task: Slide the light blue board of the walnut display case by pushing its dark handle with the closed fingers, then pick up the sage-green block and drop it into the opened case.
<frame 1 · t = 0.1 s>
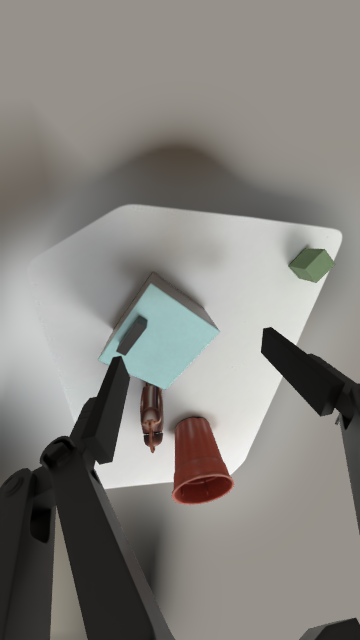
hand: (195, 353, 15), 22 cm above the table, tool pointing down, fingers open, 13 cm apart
light blue board: (159, 349, 27), point 12 cm above the table, slide at 0.0 cm
block: (301, 264, 35), on the table
alarm clock: (153, 388, 46), on the table
case: (159, 319, 37), on the table
flower pot: (191, 427, 56), on the table
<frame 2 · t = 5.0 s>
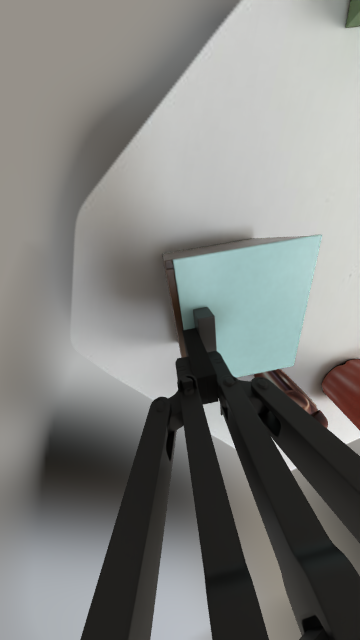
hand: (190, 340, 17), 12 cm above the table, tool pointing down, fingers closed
light blue board: (250, 328, 17), point 12 cm above the table, slide at 0.8 cm, touching gripper
alarm clock: (263, 367, 37), on the table
case: (211, 296, 28), on the table
flower pot: (342, 376, 42), on the table
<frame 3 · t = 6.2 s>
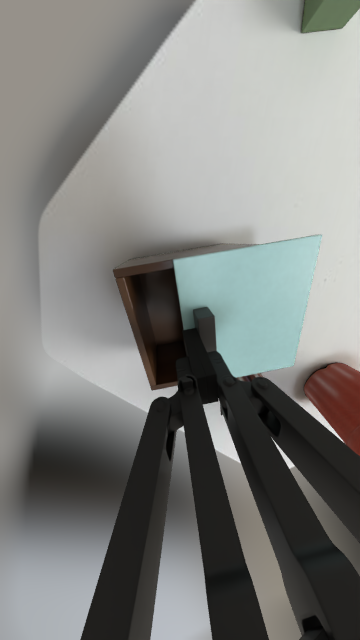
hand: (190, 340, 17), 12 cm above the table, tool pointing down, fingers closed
light blue board: (250, 328, 17), point 12 cm above the table, slide at 5.6 cm, touching gripper
case: (184, 301, 27), on the table
flower pot: (325, 380, 41), on the table
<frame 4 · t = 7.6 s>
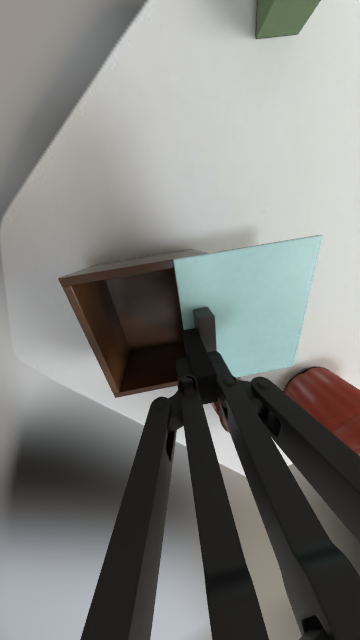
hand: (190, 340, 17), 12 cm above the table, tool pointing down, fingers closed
light blue board: (250, 328, 17), point 12 cm above the table, slide at 10.5 cm, touching gripper
case: (155, 306, 27), on the table
flower pot: (306, 384, 41), on the table
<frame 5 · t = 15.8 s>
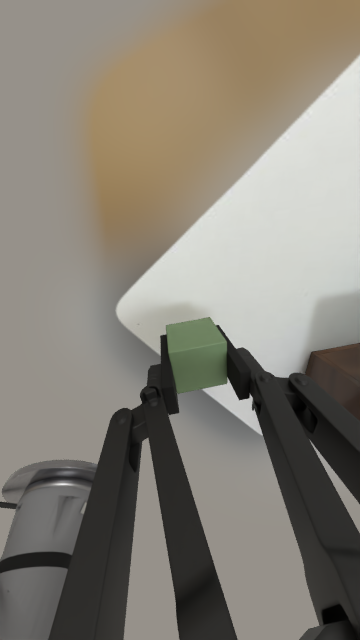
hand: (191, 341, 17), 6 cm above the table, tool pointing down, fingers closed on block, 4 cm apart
block: (190, 339, 17), point 6 cm above the table, touching gripper
case: (343, 373, 31), on the table
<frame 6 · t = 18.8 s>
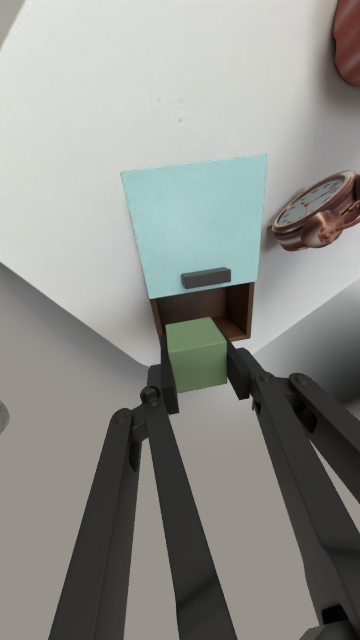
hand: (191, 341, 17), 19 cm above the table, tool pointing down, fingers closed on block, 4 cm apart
light blue board: (202, 235, 19), point 12 cm above the table, slide at 10.5 cm
block: (190, 339, 17), point 19 cm above the table, touching gripper
alarm clock: (284, 220, 31), on the table
case: (192, 292, 34), on the table
when the fingers open (6 cm above the table, at t = 22.2 s): block drops 5 cm, resting on case.
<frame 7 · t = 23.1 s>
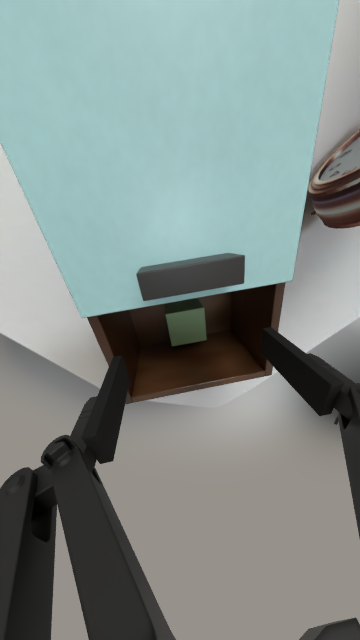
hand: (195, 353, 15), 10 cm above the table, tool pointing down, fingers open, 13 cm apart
light blue board: (176, 173, 8), point 12 cm above the table, slide at 10.5 cm
block: (182, 313, 23), point 1 cm above the table, touching case
alarm clock: (323, 183, 19), on the table
case: (180, 298, 23), on the table
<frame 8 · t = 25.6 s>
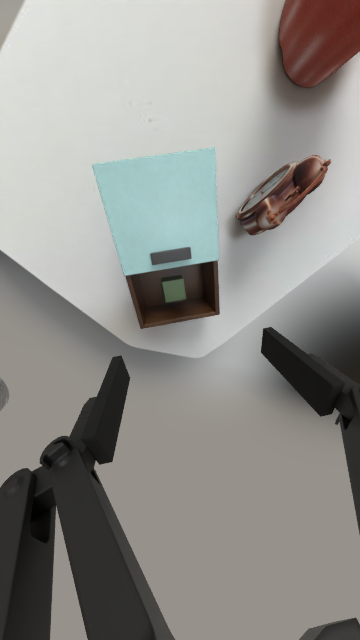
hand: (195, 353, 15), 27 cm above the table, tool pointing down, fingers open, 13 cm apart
light blue board: (164, 218, 23), point 12 cm above the table, slide at 10.5 cm
block: (172, 285, 38), point 1 cm above the table, touching case
alarm clock: (251, 209, 34), on the table
case: (171, 276, 38), on the table
flower pot: (315, 29, 25), on the table
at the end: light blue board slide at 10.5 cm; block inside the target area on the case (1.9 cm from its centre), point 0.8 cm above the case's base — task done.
